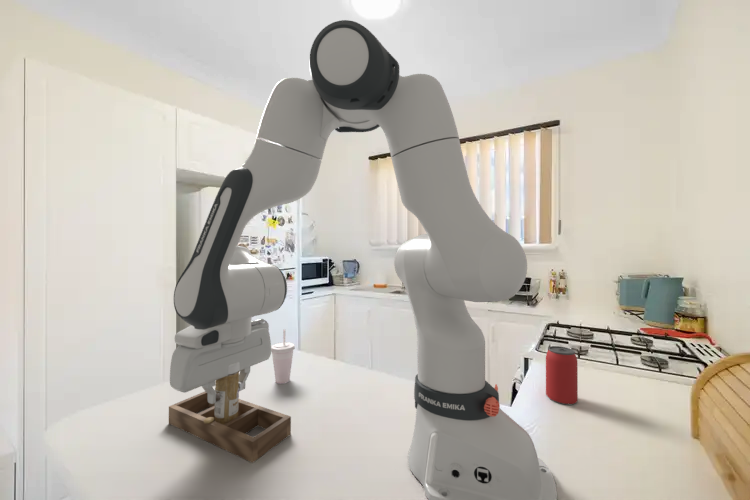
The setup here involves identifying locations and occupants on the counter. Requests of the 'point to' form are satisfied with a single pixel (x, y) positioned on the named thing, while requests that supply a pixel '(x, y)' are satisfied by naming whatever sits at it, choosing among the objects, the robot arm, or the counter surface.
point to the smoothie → (282, 360)
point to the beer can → (561, 375)
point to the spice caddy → (232, 426)
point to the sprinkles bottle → (228, 395)
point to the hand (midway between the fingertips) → (227, 395)
